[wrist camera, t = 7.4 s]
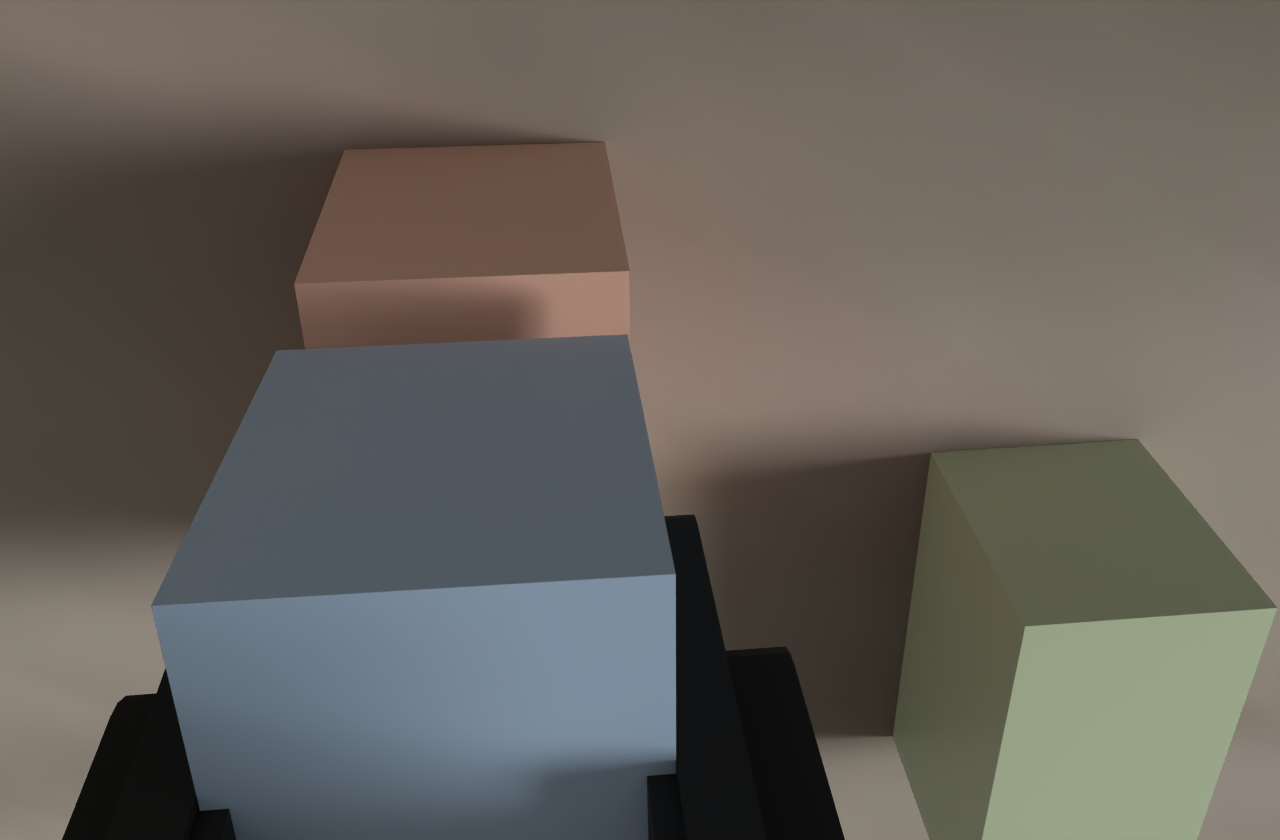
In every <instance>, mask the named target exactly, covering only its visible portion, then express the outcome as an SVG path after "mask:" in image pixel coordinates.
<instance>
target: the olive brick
mask: <svg viewBox="0 0 1280 840" xmlns="http://www.w3.org/2000/svg"><path fill="white" fill-rule="evenodd" d="M1276 611H1277V607H1276V606H1275V604H1274V603H1273V602H1272V601H1271V599H1270V598H1269V597H1268V596H1267V595H1266V593H1265V592H1264V591H1263V590H1262V589H1261V587H1260V586H1259V585H1258V584H1257V583H1256V581H1255V580H1254V579H1253V578H1252V577H1251V575H1250V574H1249V573H1248V572H1247V570H1246V569H1245V568H1244V567H1243V566H1242V564H1241V563H1240V562H1239V561H1238V560H1237V558H1236V557H1235V556H1234V555H1233V554H1232V552H1231V551H1230V550H1229V549H1228V548H1227V546H1226V545H1225V544H1224V543H1223V542H1222V540H1221V539H1220V538H1219V537H1218V535H1217V534H1216V533H1215V532H1214V531H1213V529H1212V528H1211V527H1210V526H1209V525H1208V523H1207V522H1206V521H1205V520H1204V519H1203V517H1202V516H1201V515H1200V514H1199V513H1198V511H1197V510H1196V509H1195V508H1194V507H1193V505H1192V504H1191V503H1190V502H1189V500H1188V499H1187V498H1186V497H1185V496H1184V494H1183V493H1182V492H1181V491H1180V490H1179V488H1178V487H1177V486H1176V485H1175V484H1174V482H1173V481H1172V480H1171V479H1170V478H1169V476H1168V475H1167V474H1166V473H1165V471H1164V470H1163V469H1162V468H1161V467H1160V465H1159V464H1158V463H1157V462H1156V461H1155V459H1154V458H1153V457H1152V456H1151V455H1150V453H1149V452H1148V451H1147V450H1146V449H1145V447H1144V446H1143V445H1142V444H1141V443H1140V441H1139V440H1138V439H1135V440H1119V441H1103V442H1088V443H1072V444H1056V445H1041V446H1025V447H1009V448H994V449H978V450H962V451H947V452H931V456H930V464H929V471H928V478H927V486H926V493H925V501H924V508H923V515H922V523H921V530H920V538H919V545H918V553H917V560H916V567H915V575H914V582H913V590H912V597H911V605H910V612H909V619H908V627H907V634H906V642H905V649H904V657H903V664H902V671H901V679H900V686H899V694H898V701H897V709H896V716H895V723H894V731H893V738H894V741H895V744H896V747H897V750H898V752H899V755H900V758H901V761H902V764H903V766H904V769H905V772H906V775H907V778H908V780H909V783H910V786H911V789H912V791H913V794H914V797H915V800H916V803H917V805H918V808H919V811H920V814H921V817H922V819H923V822H924V825H925V828H926V831H927V833H928V836H929V839H930V840H1197V838H1198V835H1199V832H1200V829H1201V826H1202V823H1203V821H1204V818H1205V815H1206V812H1207V809H1208V806H1209V803H1210V800H1211V798H1212V795H1213V792H1214V789H1215V786H1216V783H1217V780H1218V777H1219V775H1220V772H1221V769H1222V766H1223V763H1224V760H1225V757H1226V754H1227V752H1228V749H1229V746H1230V743H1231V740H1232V737H1233V734H1234V731H1235V729H1236V726H1237V723H1238V720H1239V717H1240V714H1241V711H1242V708H1243V706H1244V703H1245V700H1246V697H1247V694H1248V691H1249V688H1250V685H1251V683H1252V680H1253V677H1254V674H1255V671H1256V668H1257V665H1258V663H1259V660H1260V657H1261V654H1262V651H1263V648H1264V645H1265V642H1266V640H1267V637H1268V634H1269V631H1270V628H1271V625H1272V622H1273V619H1274V617H1275V614H1276Z"/></svg>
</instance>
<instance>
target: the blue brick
mask: <svg viewBox="0 0 1280 840" xmlns="http://www.w3.org/2000/svg"><path fill="white" fill-rule="evenodd" d="M151 608H152V612H153V616H154V621H155V625H156V629H157V633H158V637H159V641H160V646H161V650H162V654H163V658H164V662H165V666H166V671H167V675H168V679H169V683H170V687H171V691H172V696H173V700H174V704H175V708H176V712H177V717H178V721H179V725H180V729H181V733H182V737H183V742H184V746H185V750H186V754H187V758H188V762H189V767H190V771H191V775H192V779H193V783H194V787H195V792H196V796H197V800H198V804H199V808H200V811H205V810H217V809H229V811H230V815H231V819H232V823H233V828H234V832H235V836H236V840H648V804H647V776H652V775H665V774H676V573H675V568H674V563H673V558H672V553H671V548H670V543H669V538H668V533H667V528H666V523H665V518H664V513H663V508H662V503H661V499H660V494H659V489H658V484H657V479H656V474H655V469H654V464H653V459H652V454H651V449H650V444H649V439H648V434H647V429H646V424H645V419H644V414H643V409H642V404H641V399H640V394H639V389H638V384H637V379H636V374H635V369H634V364H633V359H632V354H631V350H630V345H629V340H628V335H627V334H623V335H601V336H580V337H558V338H536V339H515V340H493V341H471V342H450V343H428V344H406V345H385V346H363V347H341V348H320V349H298V350H277V351H276V353H275V355H274V357H273V359H272V361H271V363H270V365H269V367H268V369H267V371H266V373H265V375H264V377H263V379H262V381H261V383H260V385H259V387H258V389H257V391H256V393H255V395H254V397H253V399H252V401H251V403H250V405H249V407H248V410H247V412H246V414H245V416H244V418H243V420H242V422H241V424H240V426H239V428H238V430H237V432H236V434H235V436H234V438H233V440H232V442H231V444H230V446H229V448H228V450H227V452H226V454H225V456H224V458H223V460H222V462H221V464H220V466H219V469H218V471H217V473H216V475H215V477H214V479H213V481H212V483H211V485H210V487H209V489H208V491H207V493H206V495H205V497H204V499H203V501H202V503H201V505H200V507H199V509H198V511H197V513H196V515H195V517H194V519H193V521H192V523H191V525H190V528H189V530H188V532H187V534H186V536H185V538H184V540H183V542H182V544H181V546H180V548H179V550H178V552H177V554H176V556H175V558H174V560H173V562H172V564H171V566H170V568H169V570H168V572H167V574H166V576H165V578H164V580H163V582H162V584H161V587H160V589H159V591H158V593H157V595H156V597H155V599H154V601H153V603H152V605H151Z"/></svg>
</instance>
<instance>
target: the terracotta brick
mask: <svg viewBox="0 0 1280 840" xmlns="http://www.w3.org/2000/svg"><path fill="white" fill-rule="evenodd" d="M294 286H295V292H296V298H297V304H298V310H299V316H300V322H301V328H302V334H303V340H304V345H305V349H320V348H341V347H363V346H385V345H406V344H428V343H450V342H471V341H493V340H515V339H536V338H558V337H580V336H601V335H623V334H627V335H628V340H629V345H630V270H629V265H628V260H627V255H626V249H625V244H624V239H623V234H622V229H621V224H620V219H619V213H618V208H617V203H616V198H615V193H614V188H613V183H612V178H611V172H610V167H609V162H608V157H607V152H606V147H605V142H590V143H556V144H522V145H488V146H453V147H419V148H385V149H351V150H344V153H343V155H342V158H341V161H340V163H339V166H338V169H337V171H336V174H335V177H334V179H333V182H332V185H331V187H330V190H329V192H328V195H327V198H326V200H325V203H324V206H323V208H322V211H321V214H320V216H319V219H318V222H317V224H316V227H315V230H314V232H313V235H312V238H311V240H310V243H309V245H308V248H307V251H306V253H305V256H304V259H303V261H302V264H301V267H300V269H299V272H298V275H297V277H296V280H295V283H294Z"/></svg>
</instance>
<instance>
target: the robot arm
mask: <svg viewBox="0 0 1280 840" xmlns="http://www.w3.org/2000/svg"><path fill="white" fill-rule="evenodd" d="M664 518H665V523H666V528H667V533H668V538H669V543H670V548H671V553H672V558H673V563H674V568H675V573H676V774H665V775H652V776H647V804H648V840H845V839H844V835H843V832H842V828H841V825H840V821H839V818H838V815H837V811H836V808H835V804H834V801H833V797H832V794H831V790H830V787H829V783H828V780H827V776H826V773H825V770H824V766H823V763H822V759H821V756H820V752H819V749H818V745H817V742H816V738H815V735H814V731H813V728H812V725H811V721H810V718H809V714H808V711H807V707H806V704H805V700H804V697H803V693H802V690H801V686H800V683H799V679H798V676H797V673H796V669H795V666H794V663H793V660H792V657H791V654H790V652H789V651H788V649H787V648H786V647H773V648H759V649H746V650H732V651H725V647H724V642H723V638H722V633H721V628H720V624H719V619H718V615H717V610H716V606H715V601H714V597H713V592H712V588H711V583H710V579H709V574H708V570H707V565H706V561H705V556H704V552H703V547H702V543H701V538H700V533H699V529H698V524H697V521H696V517H695V516H694V515H678V516H664ZM62 840H236V836H235V832H234V828H233V823H232V819H231V815H230V811H229V809H217V810H205V811H200V808H199V804H198V800H197V796H196V792H195V787H194V783H193V779H192V775H191V771H190V767H189V762H188V758H187V754H186V750H185V746H184V742H183V737H182V733H181V729H180V725H179V721H178V717H177V712H176V708H175V704H174V700H173V696H172V691H171V687H170V683H169V679H168V675H167V671H166V668H165V671H164V674H163V677H162V680H161V682H160V685H159V688H158V691H157V694H144V695H131V696H125V697H124V698H123V699H122V700H121V701H119V702H118V703H117V705H116V707H115V709H114V711H113V713H112V715H111V717H110V719H109V722H108V724H107V727H106V729H105V732H104V734H103V737H102V739H101V742H100V745H99V747H98V750H97V752H96V755H95V757H94V760H93V762H92V765H91V767H90V770H89V772H88V775H87V778H86V780H85V783H84V785H83V788H82V790H81V793H80V795H79V798H78V800H77V803H76V806H75V808H74V811H73V813H72V816H71V818H70V821H69V823H68V826H67V828H66V831H65V834H64V836H63V839H62Z"/></svg>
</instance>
